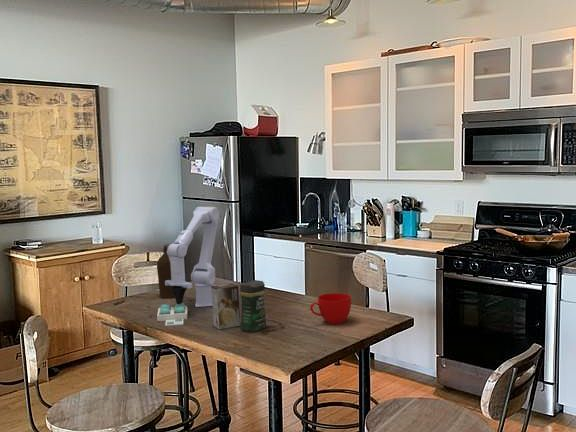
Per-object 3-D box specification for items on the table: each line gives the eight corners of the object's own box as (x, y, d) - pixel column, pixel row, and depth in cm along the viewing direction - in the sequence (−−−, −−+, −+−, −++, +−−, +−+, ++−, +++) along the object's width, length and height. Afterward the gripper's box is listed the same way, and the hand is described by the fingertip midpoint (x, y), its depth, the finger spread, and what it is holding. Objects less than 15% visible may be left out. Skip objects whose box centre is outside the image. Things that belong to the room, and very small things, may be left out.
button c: (170, 309, 253) (170, 303, 252) (170, 311, 249) (169, 305, 249) (161, 310, 252) (160, 304, 252) (160, 312, 248) (160, 306, 248)
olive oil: (185, 296, 283) (182, 244, 280) (164, 300, 277) (161, 247, 274) (175, 292, 291) (172, 242, 289) (154, 296, 285) (151, 245, 282)
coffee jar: (253, 333, 220) (251, 284, 218) (237, 330, 225) (235, 282, 223) (270, 327, 228) (268, 279, 226) (254, 324, 233) (252, 277, 231)
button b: (184, 312, 248) (184, 306, 247) (184, 314, 244) (183, 308, 244) (175, 312, 247) (174, 306, 247) (174, 315, 243) (174, 309, 243)
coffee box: (234, 322, 237) (232, 282, 235) (240, 325, 231) (239, 285, 229) (213, 325, 233) (211, 285, 231) (218, 329, 227) (216, 288, 225)
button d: (169, 313, 247) (169, 307, 247) (169, 315, 243) (169, 309, 243) (160, 313, 246) (160, 307, 246) (160, 316, 242) (159, 310, 242)
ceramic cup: (304, 321, 234) (303, 296, 233) (341, 315, 240) (341, 291, 239) (318, 330, 222) (317, 304, 221) (357, 323, 229) (357, 298, 228)
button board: (187, 311, 255) (187, 305, 255) (187, 319, 243) (186, 313, 243) (159, 313, 253) (158, 308, 253) (157, 321, 241) (157, 315, 241)
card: (183, 319, 243) (183, 318, 242) (183, 324, 236) (183, 323, 236) (166, 321, 241) (166, 319, 241) (165, 325, 235) (165, 324, 235)
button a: (184, 308, 254) (184, 302, 253) (184, 310, 250) (184, 304, 250) (175, 309, 253) (175, 303, 253) (175, 311, 249) (174, 305, 249)
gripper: (158, 272, 251) (160, 303, 252) (183, 275, 242) (184, 307, 244) (171, 269, 256) (173, 299, 258) (195, 272, 248) (197, 303, 249)
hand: (179, 303), depth 251 cm, fingers closed
